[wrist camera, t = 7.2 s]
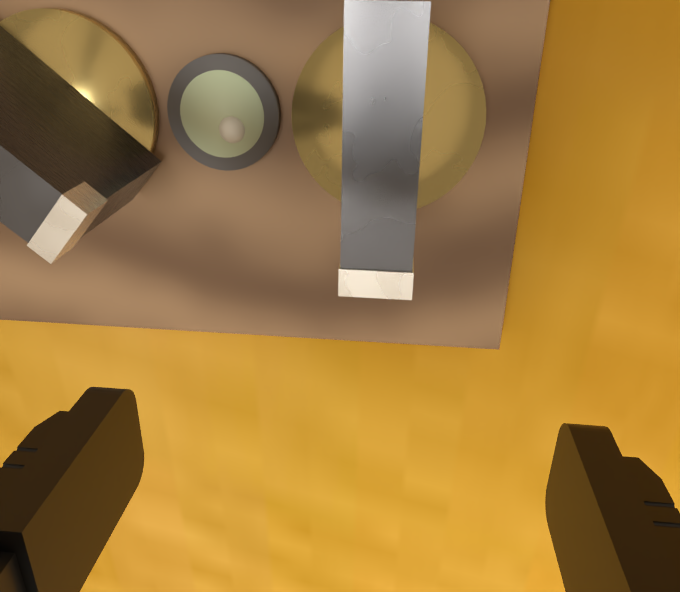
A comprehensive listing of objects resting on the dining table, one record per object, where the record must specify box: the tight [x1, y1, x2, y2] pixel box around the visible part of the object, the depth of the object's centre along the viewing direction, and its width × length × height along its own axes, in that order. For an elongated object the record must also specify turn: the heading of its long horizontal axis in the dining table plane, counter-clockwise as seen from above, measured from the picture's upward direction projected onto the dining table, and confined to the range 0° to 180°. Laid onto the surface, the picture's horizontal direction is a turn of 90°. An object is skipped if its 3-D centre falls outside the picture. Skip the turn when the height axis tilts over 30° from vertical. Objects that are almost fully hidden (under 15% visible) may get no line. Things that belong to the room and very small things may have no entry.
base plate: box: [0, 0, 550, 349], centre depth 27 cm, size 22×26×3 cm
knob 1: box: [0, 8, 162, 264], centre depth 24 cm, size 9×8×8 cm
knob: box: [291, 0, 486, 300], centre depth 23 cm, size 9×8×8 cm
